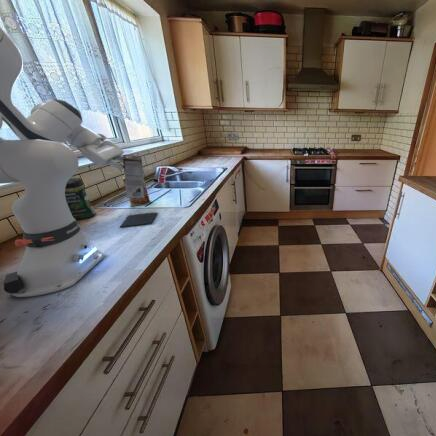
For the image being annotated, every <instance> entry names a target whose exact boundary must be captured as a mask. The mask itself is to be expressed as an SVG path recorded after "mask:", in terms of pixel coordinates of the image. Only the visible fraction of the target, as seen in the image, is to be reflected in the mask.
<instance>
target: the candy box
mask: <svg viewBox="0 0 436 436" xmlns="http://www.w3.org/2000/svg"><path fill="white" fill-rule="evenodd" d="M122 181H123V184H124V187H125V189H126V184H125V176H123V177H122ZM143 181H144V198H128V200H129V203H130V207H136V206H141V205H142V206H143V205H147V204H148V205H149V204H151V199H150V197H149V192H148V189H147V185H146V181H145V178H144V177H143Z"/></svg>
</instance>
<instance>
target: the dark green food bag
mask: <svg viewBox="0 0 436 436" xmlns="http://www.w3.org/2000/svg"><path fill="white" fill-rule="evenodd" d="M65 198H66V201H67V204H68V207H69V209H70V212H71V214H72V216H73V218H75V219H76V220H83V219H88V218H92V217H94V215H95V214H96V209H95V207H94V206H93V204H92V202H91V200H90V198H89V196H88V194H87V192H86V185H85V182H84V181H83V180H82V178H81V177H71V178H70V179H69V180H68V182H67V184H66V188H65Z"/></svg>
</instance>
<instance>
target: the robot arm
mask: <svg viewBox="0 0 436 436" xmlns="http://www.w3.org/2000/svg"><path fill="white" fill-rule="evenodd" d="M23 67H24V60H23V55H22V52H21V51H20V49H19V47H18V46H17V45H16V43H15V42H14V41H13V39H12V38H11V37H10V36H9V34H7V32H5V30H4V29H2V27H0V130H1V129H2V127H3V122H4V123H5V124H6V125H7V126H8V127H9V128H10V129H11V131H12V132H13V133H14V135H15V136H16V137H17V138H18V139H5V138H2V137H0V185H1V184H14V183H16V184H17V183H21V184H22V185H23V189H24V194H23V195H21V196H19V197H18V198H16V199H15V200H14V201H13V203H12V205H11V212H12V214H13V215H14V217H15V219H16V221H17V222H18V223H19V225H20V227H21V229H22V230H23V231H22V238H21V239H16V240H15V241H14V246H15V247H25V251H24V253H23V255H22V257H21V260H20V263H19V265H18V268H17V271H14V272H10V273H7V274H5V277H4V279H3V283H2V285H3V290H4V291H5V293H8V294H12V296H13V297H16V298H29V297H30V298H31V297H36V296H42V295H48V294H52V293H55V292H59V291H62V290H66V289H68V288H70V287H72V286H74V285H76V284H77V282H78V281H80V280H81V279H82V278H83V277H84V276H85V275H86V274H88V272H90V270H92V269H93V268H94V267H95V266H96V265H97V264H99V262H100V261H101V260H103V259H104V255H103V253H99V252H98V251H97V249H98V248H97V247H95V246H94V244H93V242H92V241H91V239H90V237H89V236H87V235H86V234H84V233H83V232H82V231H81V227H80V224H79V222H78V220H77V219H75V218H73V216H72V214H71V212H70V209H69V207H68V204H67V201H66V198H65V188H66V184H67V182H68V180H69V179H70V178H73V177H74V175H76V173H77V171H78V170H79V158H78V156H77V154H76V153H75V152H74V150H73V149H72V148H74V149H76V150H78V151H79V152H80V153H81V155H82V156H83V157H84V158H86V159H87V160H89V161H90V162H92V163H93V164H95V165H96V166H98V167H101V168H102V167H104V166H106V165H108V166H109V167H111V168H112V167H113V168H116V169H117V170H119V171H122V170H124V164H123V155H124V153H125V151H124V150H123V149H122V148H121V147H120V146H118V145H117V144H116V143H114V142H113V141H111V140H110V139H107V138H108V137H107V136H106V135H104V134H102V133H98V132H95V131H93V130H91V129H90V128H88V127H86V126H85V125H82V124H83V114H82V112H81V111H80V110H78V109H77V108H76V107H74V106H73V105H72V104H70V103H68V102H67V101H66V100H64V99H58V98H51V99H49V100H47V101H46V102H40V103H37V104H36V105H34V106H33V107H32V109H31V110H30V115H28V116H27V117H26V116H25V115H24V114H23V113H22V112H21V111H20V110H19V109H18V108H17V106H15V104H14V103H13V100H12V93H13V89H14V87H15V84H16V82H17V80H18V78H19V77H20V75H21V74H22V72H23V69H24V68H23ZM64 141H65V142H66V143H68V145H67V144H66V143H64ZM69 145H70V146H71V147H72V148H71V147H70V146H69ZM116 160H117V161H118V162H116ZM119 161H120V162H121V163H122V164H121V163H119Z"/></svg>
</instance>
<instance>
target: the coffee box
mask: <svg viewBox="0 0 436 436" xmlns="http://www.w3.org/2000/svg"><path fill="white" fill-rule="evenodd" d="M122 156H123V163H122V165H123V166H124V168H123V173H124V177H125V184H126V188H125V191H126V198H127V199H129V198H144V181H145V180H144V181H143V178H144V169H143V167H144V166H143V159H142V156H141V155H133V154H123V155H122Z"/></svg>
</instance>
